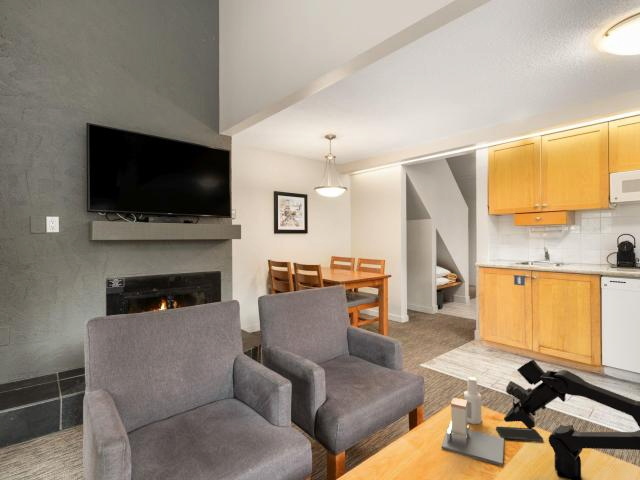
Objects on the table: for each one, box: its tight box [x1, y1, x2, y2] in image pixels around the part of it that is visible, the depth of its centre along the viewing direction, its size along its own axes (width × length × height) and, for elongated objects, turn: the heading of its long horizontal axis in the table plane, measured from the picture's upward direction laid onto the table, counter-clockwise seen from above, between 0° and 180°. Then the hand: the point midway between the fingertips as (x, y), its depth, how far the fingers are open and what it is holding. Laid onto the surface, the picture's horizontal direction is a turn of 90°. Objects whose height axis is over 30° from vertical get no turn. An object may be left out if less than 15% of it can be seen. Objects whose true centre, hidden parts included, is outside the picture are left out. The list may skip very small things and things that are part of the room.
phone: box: [495, 426, 544, 443], centre depth 134 cm, size 8×1×15 cm
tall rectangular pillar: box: [450, 397, 468, 435], centre depth 131 cm, size 5×5×14 cm
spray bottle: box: [463, 376, 482, 425], centre depth 145 cm, size 7×7×18 cm
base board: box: [441, 424, 505, 467], centre depth 129 cm, size 20×16×1 cm
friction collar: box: [446, 422, 470, 447], centre depth 131 cm, size 7×9×4 cm
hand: (504, 420), depth 123 cm, fingers closed
